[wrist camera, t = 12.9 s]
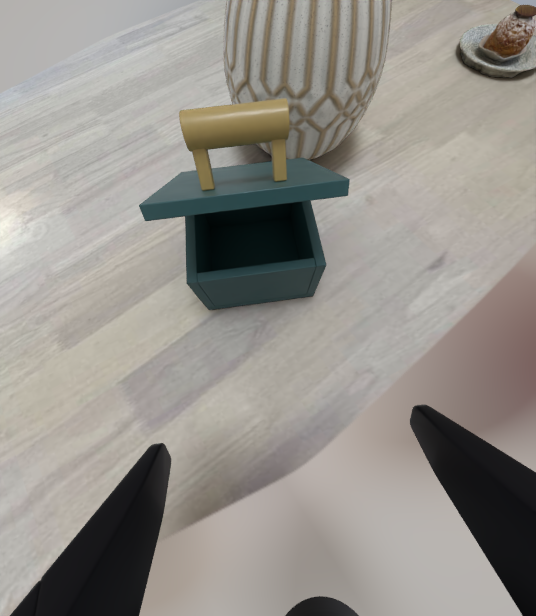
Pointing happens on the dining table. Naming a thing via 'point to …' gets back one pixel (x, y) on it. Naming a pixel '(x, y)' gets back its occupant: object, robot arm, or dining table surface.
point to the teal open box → (253, 255)
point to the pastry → (502, 45)
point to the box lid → (242, 178)
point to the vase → (307, 63)
